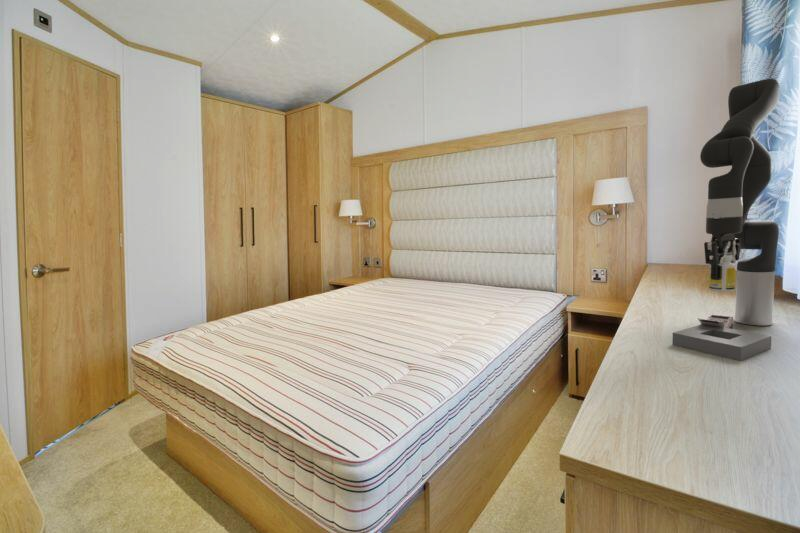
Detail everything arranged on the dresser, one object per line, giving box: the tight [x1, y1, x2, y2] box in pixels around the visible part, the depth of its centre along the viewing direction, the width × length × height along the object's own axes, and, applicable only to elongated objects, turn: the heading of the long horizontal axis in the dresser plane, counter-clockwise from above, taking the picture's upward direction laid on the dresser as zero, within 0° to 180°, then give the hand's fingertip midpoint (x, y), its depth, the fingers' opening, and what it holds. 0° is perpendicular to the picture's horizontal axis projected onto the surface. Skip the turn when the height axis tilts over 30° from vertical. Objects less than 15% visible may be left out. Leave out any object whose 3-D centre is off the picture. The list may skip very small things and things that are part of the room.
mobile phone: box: [697, 314, 734, 329], centre depth 123 cm, size 6×6×25 cm
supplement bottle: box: [708, 254, 736, 293], centre depth 107 cm, size 5×5×10 cm
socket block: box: [672, 323, 772, 362], centre depth 109 cm, size 16×16×4 cm
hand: (721, 277), depth 107 cm, fingers closed on supplement bottle, 5 cm apart
